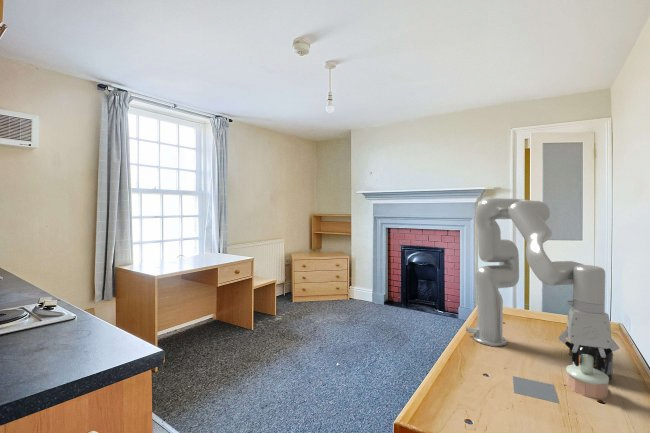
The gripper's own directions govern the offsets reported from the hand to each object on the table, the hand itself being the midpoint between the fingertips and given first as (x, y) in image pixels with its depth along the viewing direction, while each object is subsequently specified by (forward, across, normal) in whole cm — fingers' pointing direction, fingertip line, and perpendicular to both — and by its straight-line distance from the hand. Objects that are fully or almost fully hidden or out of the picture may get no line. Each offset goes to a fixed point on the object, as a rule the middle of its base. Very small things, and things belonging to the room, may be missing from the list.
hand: (587, 365), depth 98 cm
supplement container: (+8, +4, +14) cm, 17 cm away
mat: (+8, -14, -7) cm, 18 cm away
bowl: (+8, 0, 0) cm, 8 cm away
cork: (+8, +3, +29) cm, 30 cm away
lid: (+3, 0, 0) cm, 3 cm away
